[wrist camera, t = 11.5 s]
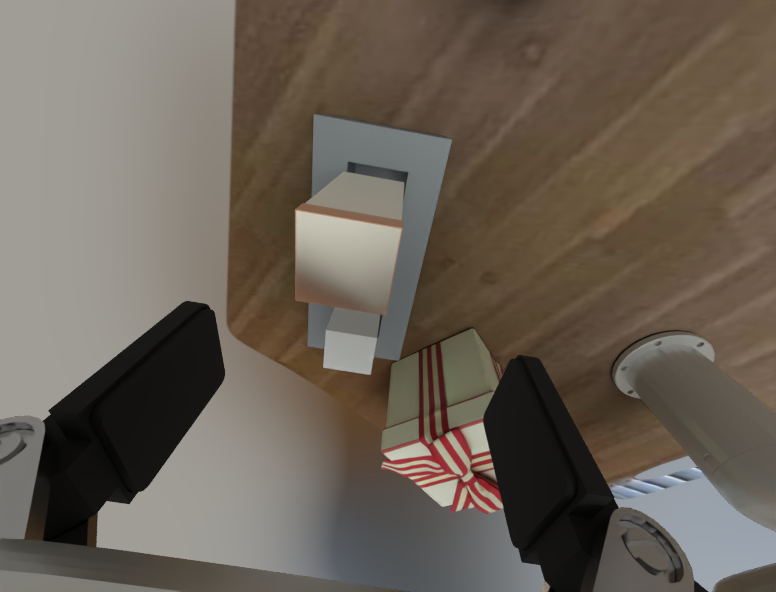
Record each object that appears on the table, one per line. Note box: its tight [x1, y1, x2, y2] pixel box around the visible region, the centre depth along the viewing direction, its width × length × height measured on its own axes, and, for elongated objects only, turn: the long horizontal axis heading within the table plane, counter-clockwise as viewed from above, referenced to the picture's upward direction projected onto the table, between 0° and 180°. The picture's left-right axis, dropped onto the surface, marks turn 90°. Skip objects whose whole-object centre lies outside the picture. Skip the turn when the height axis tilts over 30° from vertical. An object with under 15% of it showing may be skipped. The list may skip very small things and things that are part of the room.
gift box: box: [381, 329, 503, 514], centre depth 41 cm, size 17×18×17 cm
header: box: [308, 114, 452, 375], centre depth 32 cm, size 26×12×13 cm, turn 171°
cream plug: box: [295, 172, 404, 316], centre depth 21 cm, size 5×5×12 cm
